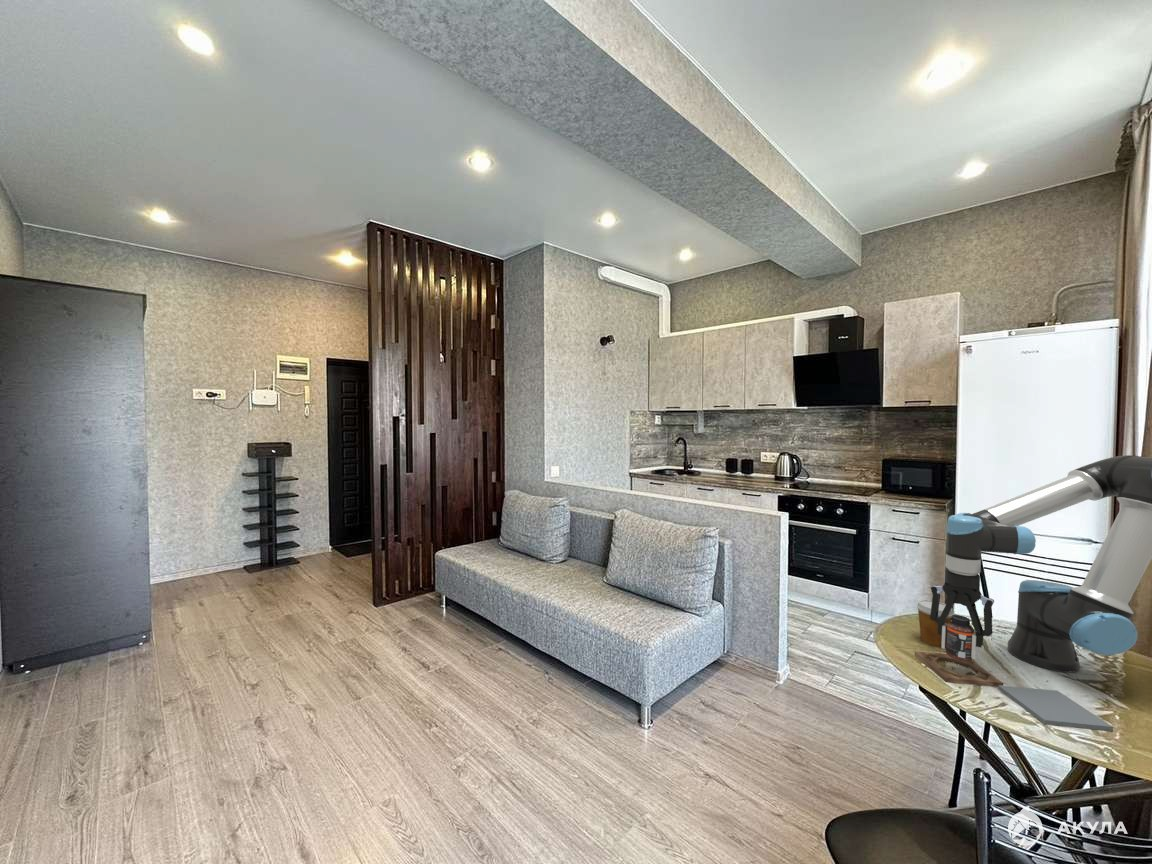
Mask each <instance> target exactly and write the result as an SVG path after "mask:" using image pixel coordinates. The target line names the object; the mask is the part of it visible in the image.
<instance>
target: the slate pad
mask: <svg viewBox="0 0 1152 864" xmlns="http://www.w3.org/2000/svg"><path fill="white" fill-rule="evenodd" d="M997 689H998V690H999V691H1000V692H1001V693H1003V694H1004V695H1006V696H1007V697H1008V698H1009V699H1011V700H1012V701H1014V702H1015V703H1016V704H1017V705H1018V706H1020V707H1021V708H1022V709H1024V710H1025V711H1027V712H1028V713H1029V714H1030V715H1032V717H1034V718H1036V719H1037V720H1038V721H1040V722H1041V723H1043V724H1044V725H1050V726H1059V727H1069V728H1080V729H1088V730H1098V731H1108V732H1109V731H1110V732H1113V731H1114V726H1113V725H1111V724H1109V723H1108V722H1106V721H1105V720H1104V719H1102V718H1100V717H1098V716H1097V715H1096V714H1094V713H1093V712H1091V711H1090V710H1088V709H1086V708H1085V707H1084V706H1082V705H1081V704H1079V703H1078V702H1076V701H1075V700H1072V699H1071V698H1070V697H1068V696H1066V695H1065V694H1064V693H1062V692H1061V691H1059V690H1055V689H1054V690H1053V689H1041V688H1031V687H1023V686H1022V687H1021V686H1010V685H1003V686H1002V685H998V687H997Z"/></svg>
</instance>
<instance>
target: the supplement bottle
mask: <svg viewBox="0 0 1152 864" xmlns="http://www.w3.org/2000/svg"><path fill="white" fill-rule="evenodd" d="M970 624H971V618H968V617H967V616H964V615H960V614H954V615H952V616H951V622H948V623H947V628H946V648H945V654H947V655H948V656H950V657H952V658H954V659H957V660H960V661H971V660H973V658H971V653H972V635H973V634H974V632H975V630H974V627H973V626H971V625H970Z"/></svg>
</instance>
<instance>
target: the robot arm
mask: <svg viewBox="0 0 1152 864" xmlns="http://www.w3.org/2000/svg"><path fill="white" fill-rule="evenodd" d="M1109 497H1116V500H1117V501H1118V503H1119V504H1120V506H1121V507H1120V509H1119V512H1118V514H1117V515H1116V517H1115V519H1114V521H1113V523H1112V525H1111V527H1110V529H1109V531H1108V532H1107V534H1106V537H1105V539H1104V541H1103V543H1102V544H1101V547H1100V548H1099V551H1098V553H1097V554H1096V557H1095V559H1094V560H1093V563H1092V565H1091V566H1090V568H1089V570H1088V572H1087V575H1086V576H1085V578H1084V580H1083V581H1082V584H1081V585H1080V586H1077V587H1076V586H1075V587H1073V586H1070V585H1068V584H1062V583H1057V582H1052V581H1045V580H1035V579H1025V580H1022V581H1021V582H1020V584H1019V587H1018V591H1017V593H1018V601H1017V602H1018V603H1017V615H1016V616H1017V617H1016V618H1017V619H1016V626H1015V629H1014V631H1013V632H1012V634H1011V637H1010V638H1009V639H1008V641H1007V647H1006V648H1007V649H1006V650H1007V651H1008V652H1009V653H1010V654H1011V655H1012V656H1014V657H1015V658H1017V659H1019V660H1021V661H1023V662H1026V663H1029V664H1031V665H1033V666H1037V667H1040V668H1043V669H1044V668H1045V669H1047V670H1052V671H1057V672H1063V673H1074V672H1078V671H1079V669H1080V659H1079V657H1078V654H1077V650H1076V648H1075V645H1076V646H1078V647H1080V648H1082V649H1084V650H1088V651H1090V652H1091V653H1095V654H1098V655H1101V656H1114V655H1117V654H1118V655H1120V654H1123V653H1125V652H1127V651H1129V650H1130V649H1131V648H1133V646H1134V645H1135V644H1136V643H1137V640H1138V635H1139V634H1138V631H1137V630H1136V629H1137V627H1136V626H1135V625H1134V623H1133V621H1131V618H1132V617H1133V615H1134V611H1133V609H1132V608H1131V607H1130V605H1129V603H1130V601H1131V599H1132V597H1133V595H1134V593H1135V591H1136V589H1137V588H1138V585H1139V583H1140V582H1141V579H1142V578H1143V576H1144V574H1145V572H1146V570H1147V568H1148V567H1149V564H1150V563H1151V561H1152V457H1151V456H1139V455H1128V454H1127V455H1118V456H1117V455H1116V456H1112V457H1109V458H1108V457H1107V458H1104V459H1101V460H1100V459H1099V460H1097V461H1095V462H1092V463H1089V464H1086V465H1084V466H1083V465H1082V466H1080V467H1077V468H1075V469H1072V470H1070V471H1069V472H1068V473H1067V476H1065V477H1063V478H1059V479H1058V480H1055V481H1052V482H1050V483H1048V484H1045V485H1043V486H1040V487H1038V488H1035V489H1032V490H1030V491H1027V492H1025V493H1022V494H1020V495H1018V496H1015V497H1012V498H1010V499H1006V500H1004V501H1002V502H999V503H996V504H994V505H992V506H989V507H987V508H984V509H981V510H979V511H976V512H974V513H970V512H959V513H957V514H952V515H950V516H948V517H947V522H946V530H945V531H946V542H945V543H946V545H945V546H946V547H945V548H946V549H945V551H946V552H945V563H944V565H945V568H946V569H944V584H943V585H942V586H941V585H937V584H934V585H933V586H931V588H930V591H931V593H932V598H931V601H932V606H931V614H930V619H931V620H934V621H936V622H937V623H938V635H941V636H942V645H941V647H940V648H941V649H943V650H946V628H947V624H945V622H946V619H947V617H948V615H949V613H950V611H951V609H953V607H954V605H955V604H956V605H962V606H964V607H966V609H967V611H968V614H969V617H970V621H971V624H972V628H973V630H974V634H973V635H972V653H971V658H972V660H975V659H976V658H978V652H979V650H978V649H979V648H982V647H983V646H984V637H991V636H992V635H993V613H992V612H993V608H992V607H993V605H994V603H995V600H994V599H993V598H987V596H984V595H982V592H981V590H980V589H981V575H980V574H981V564H982V563H981V562H982V561H981V560H982V553H998V554H999V553H1001V554H1013V555H1020V554H1022V555H1024V554H1025V555H1027V554H1030V553H1032V552H1033V551H1034V550H1035V548H1036V542H1037V540H1036V536H1035V534H1034V532H1033V531H1032V530H1031V529H1030V528H1028V527H1026V526H1022V525H1023V524H1026V523H1027V524H1028V523H1029V522H1032V521H1035V520H1038V519H1040V518H1042V517H1046V516H1048V515H1050V514H1051V515H1052V514H1053V513H1056V512H1058V511H1059V512H1060V511H1061V510H1064V509H1066V508H1069V507H1072V506H1074V505H1077V504H1080V503H1082V502H1085V501H1088V500H1089V501H1099V500H1102V499H1105V498H1109ZM943 592H944V593H945V594H946V596H947V598H948V599H947V601H946V603H945V604H946V606H945V608H944V610H943V612H942V614H941V616H940V617H938V610H939V602H940V601H941V600H940V599H941V594H943ZM979 600H980V601H981V605H982V606H983V626H984V627H983V626H982V623H981V620H980V616H979V614H978V609H977V606H976V603H977V602H978V601H979ZM940 603H941V602H940ZM983 628H984V629H983ZM1074 644H1075V645H1074Z"/></svg>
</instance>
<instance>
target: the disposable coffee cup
mask: <svg viewBox="0 0 1152 864" xmlns="http://www.w3.org/2000/svg"><path fill="white" fill-rule="evenodd" d="M915 606H916V608H917V611H918V612H917V613H918V622H919V634H920V640H921V641H922V642H923V643H925V644H927V645H930V646H933V647H937V648H941V645H942V636H941V635H938V623H937V622H936V621H934V620H931V619H930V614H931V606H932V599H920V600H918V601H917V603H916V605H915ZM945 606H946V603H943V602H939V610H938V617H940V616H941V614H942V612H943V610H944V608H945ZM952 615H955V612H954V611H953V608H952V609H951V611H950V613H949V615H948V617H947V619H946V622H945V624H947V623H948V622H951V621H952V620H951V616H952Z"/></svg>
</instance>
